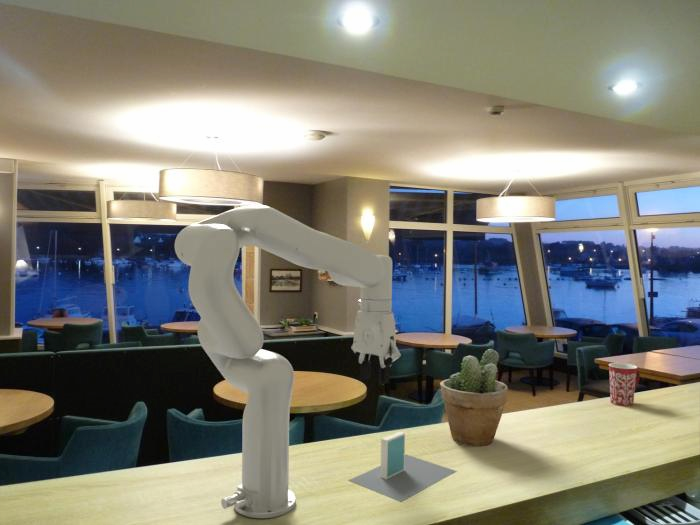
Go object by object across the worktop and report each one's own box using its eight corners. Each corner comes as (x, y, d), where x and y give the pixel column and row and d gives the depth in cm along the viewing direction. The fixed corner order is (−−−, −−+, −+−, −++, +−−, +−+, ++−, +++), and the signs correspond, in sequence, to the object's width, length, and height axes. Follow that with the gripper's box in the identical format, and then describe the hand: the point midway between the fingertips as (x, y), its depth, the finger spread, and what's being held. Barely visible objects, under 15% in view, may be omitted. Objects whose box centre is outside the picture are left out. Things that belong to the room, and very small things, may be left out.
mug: (623, 408, 186) (624, 369, 186) (601, 401, 195) (602, 363, 194) (649, 404, 191) (650, 366, 191) (627, 397, 200) (628, 361, 199)
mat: (401, 503, 114) (401, 501, 114) (348, 482, 124) (348, 480, 124) (456, 472, 130) (456, 471, 130) (405, 455, 140) (405, 454, 140)
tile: (386, 479, 125) (387, 440, 125) (380, 477, 126) (381, 438, 126) (404, 470, 130) (405, 433, 130) (398, 468, 131) (399, 431, 131)
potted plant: (496, 456, 141) (498, 360, 140) (428, 443, 150) (430, 352, 149) (513, 436, 157) (515, 349, 156) (451, 424, 166) (453, 343, 165)
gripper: (339, 304, 134) (338, 377, 135) (394, 310, 123) (392, 390, 123) (359, 302, 140) (358, 373, 140) (413, 308, 128) (412, 385, 129)
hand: (374, 380), depth 132 cm, fingers open, 4 cm apart
